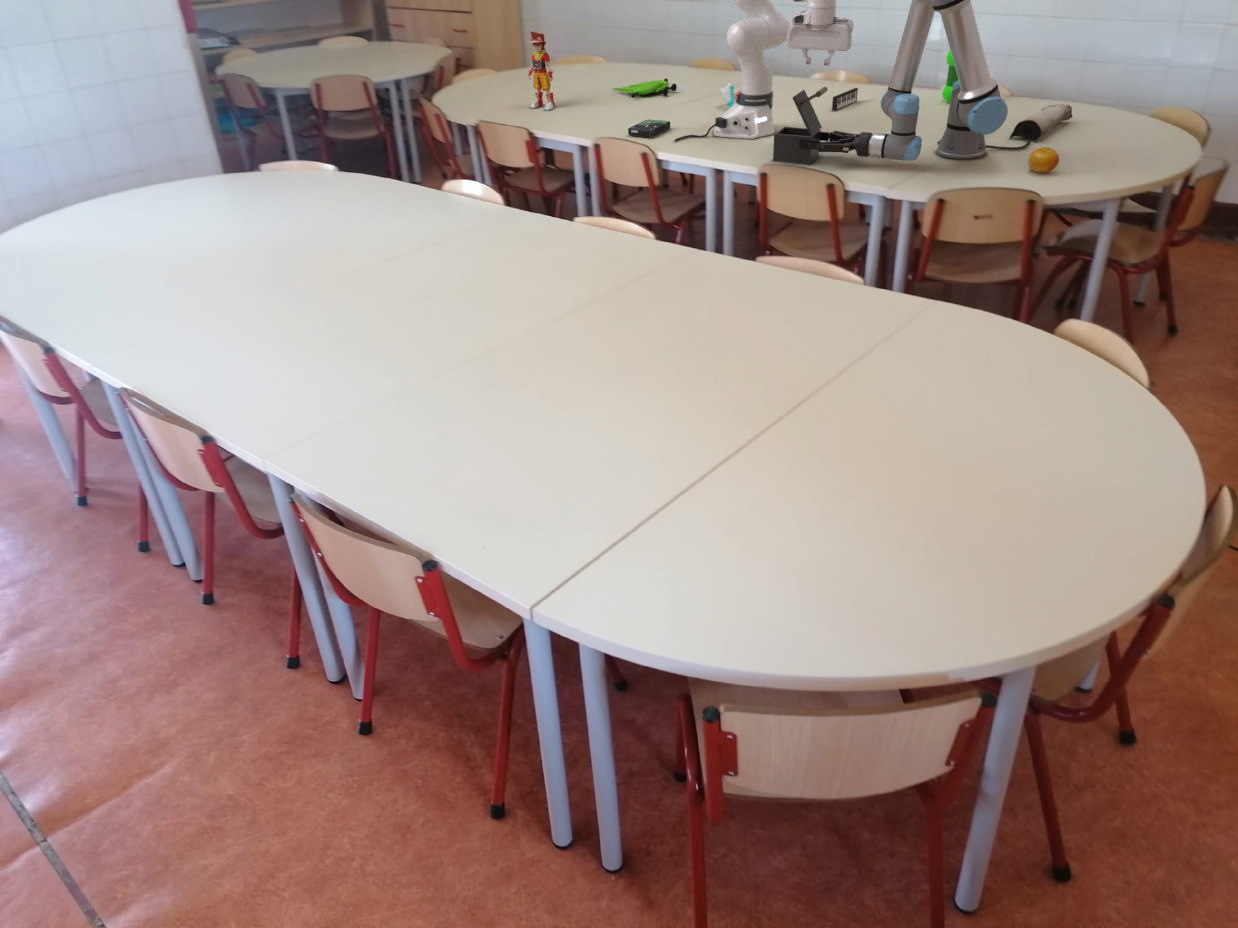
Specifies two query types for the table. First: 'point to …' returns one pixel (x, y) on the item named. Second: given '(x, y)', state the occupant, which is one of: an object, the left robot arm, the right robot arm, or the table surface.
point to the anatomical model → (729, 94)
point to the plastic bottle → (950, 78)
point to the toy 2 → (648, 88)
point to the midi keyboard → (844, 98)
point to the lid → (808, 110)
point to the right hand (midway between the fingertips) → (804, 139)
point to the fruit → (1043, 160)
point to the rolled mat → (1042, 122)
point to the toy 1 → (541, 71)
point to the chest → (794, 146)
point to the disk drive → (649, 128)
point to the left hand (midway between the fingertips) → (817, 64)
